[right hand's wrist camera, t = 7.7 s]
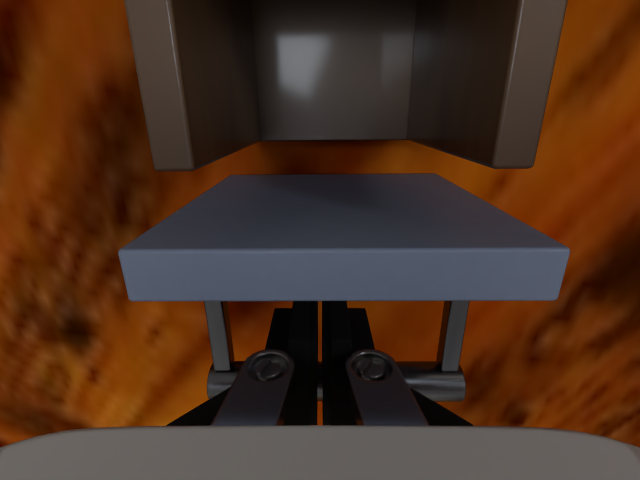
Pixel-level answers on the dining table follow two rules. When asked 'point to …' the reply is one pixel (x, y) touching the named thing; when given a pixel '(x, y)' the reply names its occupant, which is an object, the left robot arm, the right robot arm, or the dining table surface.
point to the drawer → (344, 189)
